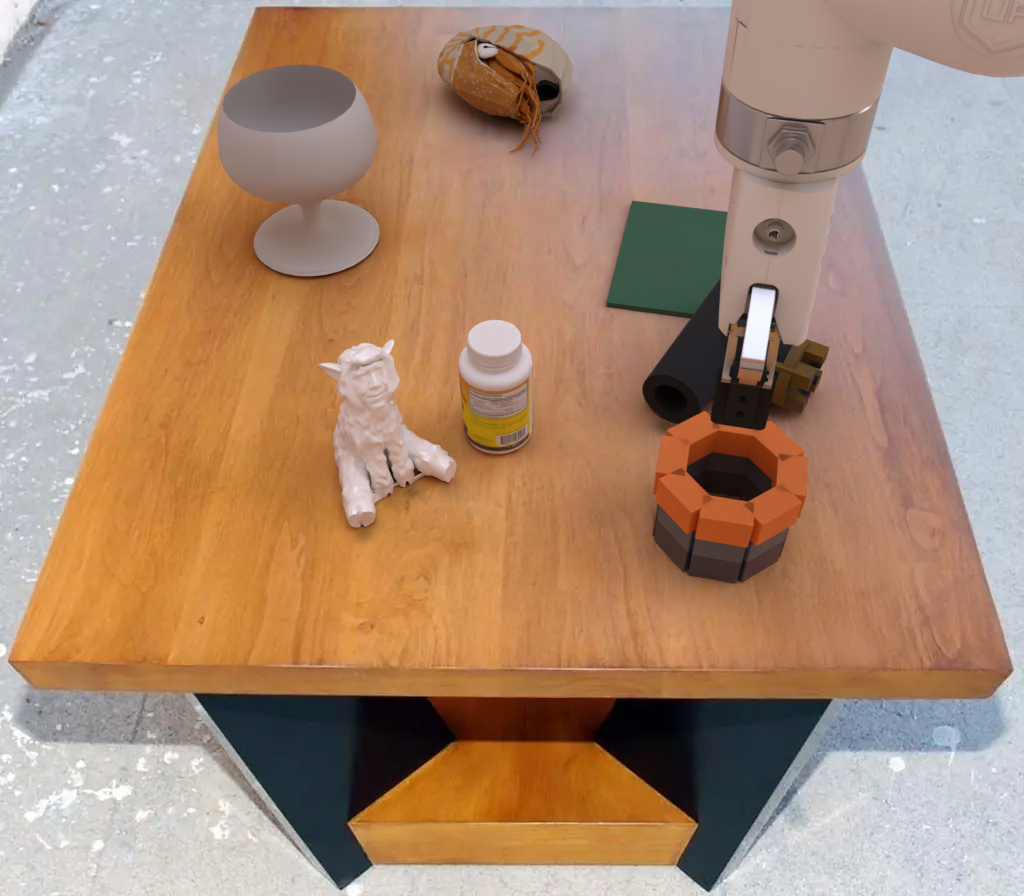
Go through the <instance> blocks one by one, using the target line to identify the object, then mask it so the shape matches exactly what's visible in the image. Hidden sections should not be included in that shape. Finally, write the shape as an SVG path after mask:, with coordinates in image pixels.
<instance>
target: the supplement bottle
mask: <svg viewBox="0 0 1024 896" xmlns="http://www.w3.org/2000/svg"><path fill="white" fill-rule="evenodd" d="M466 340H467V343H466V344H467V345H466V346H464V348H463V349H462V351H461V352H460V354H459V357H458V376H459V389H460V399H461V401H460V402H461V414H462V426H463V432H464V435H465V437H466V440H467V441H468V442H469V443H470V445H472V446H473V447H474V448H475V449H477V450H479V451H481V452H483V453H487V454H490V455H505V454H509V453H512V452H514V451H517V450H519V449H520V448H522V447H523V446H524V445H525V444H526V443H527V442H528V441H529V439H530V438H531V435H532V433H533V428H534V427H533V426H534V409H533V408H534V398H533V396H534V388H533V387H534V386H533V385H534V380H533V379H534V373H533V371H534V367H533V366H534V363H533V357H532V356H533V355H532V354H531V351H530V350H529V348H528V346H527V345H526V344H524V343H523V342H522V341H523V340H522V334H521V331H520V330H519V329H518V327H517V326H516V325H514V324H513V323H511V322H509V321H506V320H502V319H488V320H484V321H482V322H479V323H477V324H475V325H474V326H473V327H472V328H471V329H470V330H469V332H468V334H467V339H466Z"/></svg>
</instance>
